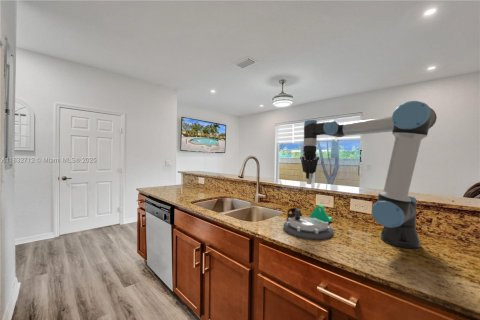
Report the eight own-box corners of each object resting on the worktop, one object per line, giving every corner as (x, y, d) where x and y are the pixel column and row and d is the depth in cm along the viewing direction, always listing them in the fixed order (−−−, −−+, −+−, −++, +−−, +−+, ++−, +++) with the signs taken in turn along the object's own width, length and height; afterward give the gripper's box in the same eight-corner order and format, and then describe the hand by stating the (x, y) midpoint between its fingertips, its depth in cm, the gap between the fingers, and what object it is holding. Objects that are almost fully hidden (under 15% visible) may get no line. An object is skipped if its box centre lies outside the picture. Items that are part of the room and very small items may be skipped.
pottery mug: (305, 221, 130) (300, 211, 128) (291, 227, 132) (286, 217, 130) (300, 212, 142) (296, 202, 140) (288, 217, 143) (283, 207, 142)
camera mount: (332, 221, 131) (332, 205, 131) (328, 224, 125) (329, 207, 125) (313, 217, 139) (314, 202, 139) (309, 220, 133) (310, 204, 133)
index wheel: (338, 229, 108) (338, 216, 108) (307, 235, 98) (307, 221, 98) (307, 218, 128) (307, 207, 128) (279, 222, 118) (279, 210, 118)
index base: (344, 236, 105) (344, 230, 105) (302, 242, 97) (302, 235, 97) (311, 221, 130) (311, 216, 130) (275, 224, 121) (275, 219, 121)
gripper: (314, 146, 130) (313, 183, 131) (297, 145, 126) (296, 183, 126) (322, 145, 123) (321, 184, 124) (304, 144, 119) (303, 185, 119)
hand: (308, 183), depth 125 cm, fingers closed
